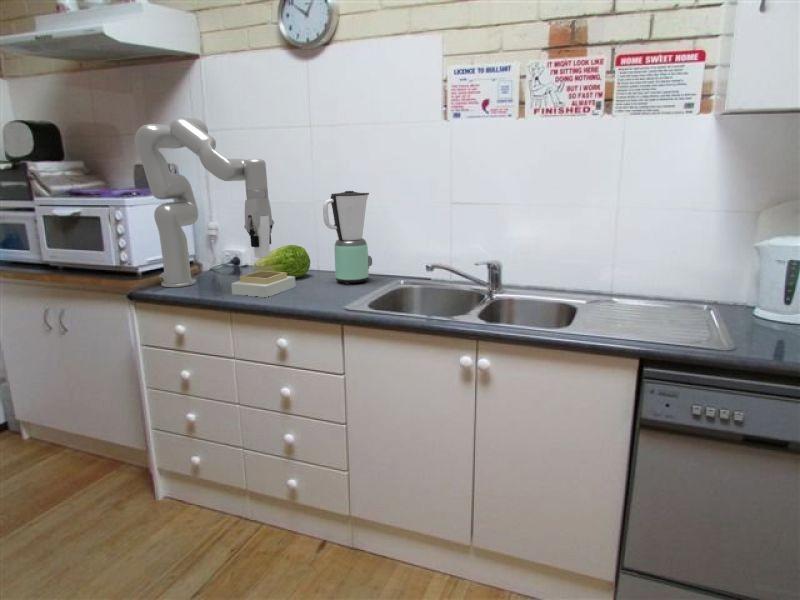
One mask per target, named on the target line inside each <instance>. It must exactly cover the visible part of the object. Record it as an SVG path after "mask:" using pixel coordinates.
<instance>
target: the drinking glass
mask: <svg viewBox="0 0 800 600" xmlns="http://www.w3.org/2000/svg"><path fill="white" fill-rule="evenodd" d="M252 227H254V224H253V225H252ZM254 230H255V229H253V231H254ZM257 236H258V237H259V247H253V251H254V252H253V253H254V257H255V258H258V259H260V258H267V257H269V256H270V252H271V250H270V249H271V248H270V245H271V244H270V224H269V215H268V216H261V217H260V227H259V228H258V233H257Z"/></svg>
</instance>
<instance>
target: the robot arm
mask: <svg viewBox="0 0 800 600" xmlns="http://www.w3.org/2000/svg"><path fill="white" fill-rule="evenodd" d="M134 147H135V149H136V152H137V153H136V154H138V157H139V159H140V161H141V164H142V167H143V170H144V173H145V177H146V180H147V184H148V186H149V190H150V193H151V195H152V196H153V197H154V198H155V199H157V200H161V201H162V200H163V201H164V200H165V201H166V200H173V201H172V202H164V203H161V204H160V205H158V206H157V207H156V208H155V209H154V213H153V214H154V215H153V217H154V221H155V222H154V223H156V224H155V225H156V227H157V231H158V234H159V242H160V243H159V244H160V248H161V249H160V250H161V257H162V264H163V272H161V273H160V274H159V275H158V278H160V279H163V281H161V283H160V284H161V287H164V288H180V287H187V286H192V285H195V284H196V282H197V281H196V278H193V277H192V273H191V266H190V263H191V262H190V254H189V247H188V246H189V245H188V239H187V235H186V233H185V231H184V229H183V227H186V226H187V227H188V226H191V225H193V224H195V223H196V222H197V221H198V219H199V210H198V205H197V202H196V198H195V195H194V192H193V188H192V185H191V183H190V181H189V179H188V178H187V177H186V176H185V175H183V174H180V173H171V170H170V168H169V163H168V161H167V159H166V158H165V156H164V155H163V154H162V153H161V152H160V149H172V150H173V149H181V148H187V149H188V150H190V152H192V153H193V154H195V155H196V156H197V157H198V158H199V161H200V163H201V164H202V165H201V166H203V168H204V169H205V170H207V171H208V172H209V173H210V174H211V175H213V176H214V177H216V178H217V179H219V180H221V181H224V182H239V181H240V182H241V181H244V182H245V183H244V184H245V185H244V186H245V196H246V199H245V202H244V226H243V227H244V229H245V231H246V232H247V233H248V236H249V237H250V246H251V248H254V247H259V237H258V236H257V233H258V228H259V227H260V217H261V216H268V215H269V224H270V245H272V232H273V231H272V230H273V227H274V224H275V220H274V219H273V217H272V209H271V207H272V206H271V204H270V200H269V191H268V188H269V187H268V176H267V175H268V174H267V165H266V161H265V160H264V159H260V158H253V159H252V158H251V159H249V158H248V159H245V158H226V157H224V156H222V155H221V154H220V153H218V152H217V151H216V147H217V142H216V138H214V137H213V136H211V135H210V133H209V128H208V127H207V125H206V124H205V122H203V120H200V119H198V118H189V117H177V118H175V119H173V120H172V121H171V122H170V124H162V123H161V124H159V123H148V124H144V125H142V126H140V128H138V129H137V131H136V133H135V136H134ZM253 224H254V227H252V225H253ZM253 229H255V230H254V231H253Z"/></svg>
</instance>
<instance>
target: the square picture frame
mask: <svg viewBox="0 0 800 600" xmlns="http://www.w3.org/2000/svg"><path fill="white" fill-rule="evenodd" d="M296 285H297V284H296V278H295V277H294V276H287V273H285V272H273V271H253V272H249V273H246V274H244V275H240V276H239V280H238V281H235V282H231V285H230V286H231V294H232V295H237V296H245V295H248V296H247V297H255V296H258V298H264V297H267V298H269V297H272V296H274V295H277V294H279V293H283V292H285V291H288V290H291V289H294V288H296V287H297V286H296ZM268 296H269V297H268Z"/></svg>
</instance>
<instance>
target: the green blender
mask: <svg viewBox="0 0 800 600" xmlns="http://www.w3.org/2000/svg"><path fill="white" fill-rule="evenodd" d="M369 195H370V192H357V191H354V190H346V191H345V190H344V191H343V192H339V193H337V192H336V193H331V195H330V198H328V199H325V200H324V201H323V204H322V212H323V213H322V216H323V221H324V224H325V225H324V226H326V227H327V228H328V229H330V230H336V234H337V238H338V239H336V240H335V243H334V270H335V271H334V273H335V274H334V275H335V280H336V282H339V283H344V285H345V286H350V284H352V283H353V284H354V283H365V284H367V283H368V279H369V277H370V276H369V275H370V274H369V272H370V271H369V269H370V267H371V266H373V258H372V256H371V255H369V250H368V243H367V240H366V239H365V238H363V233H364V226H365V225H364V224H365V216H366V208H367V202H368V201H367V200H368V197H369ZM329 204H331V209H332V214H333V221H334V224H333V225H332V224H331V223H330V219H329Z"/></svg>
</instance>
